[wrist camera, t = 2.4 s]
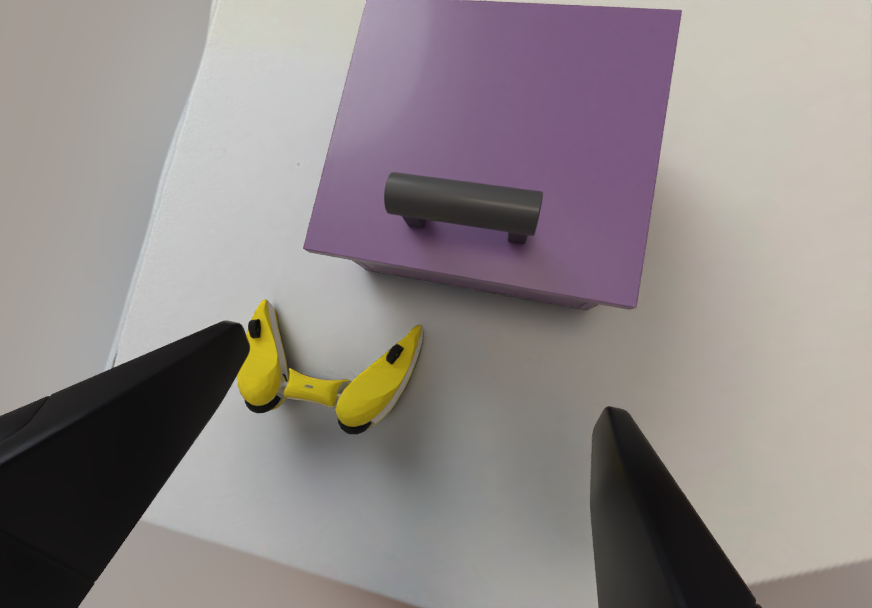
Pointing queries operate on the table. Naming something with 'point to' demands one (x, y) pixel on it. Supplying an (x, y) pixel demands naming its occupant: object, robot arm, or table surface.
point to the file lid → (500, 144)
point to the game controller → (355, 407)
